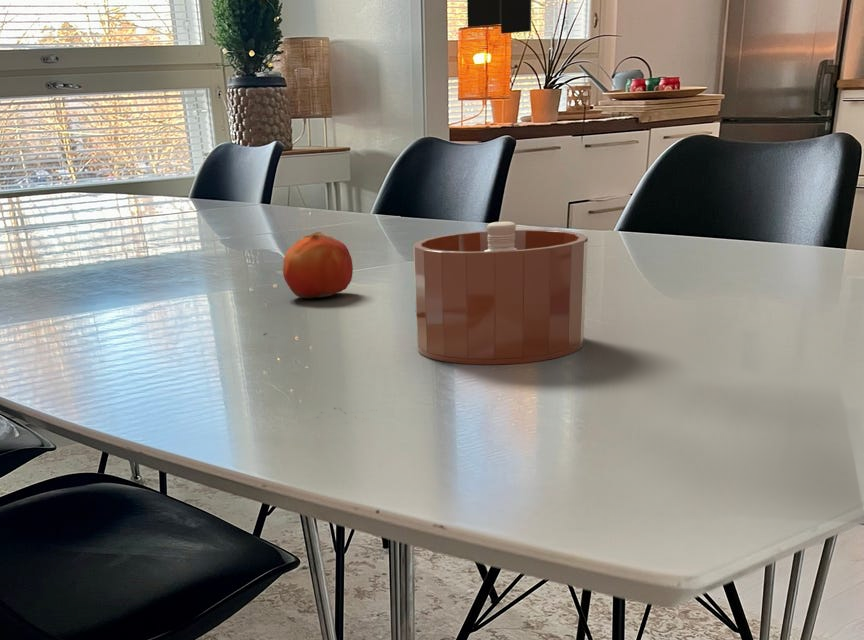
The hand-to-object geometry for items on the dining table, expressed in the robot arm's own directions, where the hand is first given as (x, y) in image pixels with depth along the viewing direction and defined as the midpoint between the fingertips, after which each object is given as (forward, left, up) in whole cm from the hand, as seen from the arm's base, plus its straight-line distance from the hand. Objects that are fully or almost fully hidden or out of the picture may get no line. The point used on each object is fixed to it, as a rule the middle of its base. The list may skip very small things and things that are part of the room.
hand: (501, 29), depth 90 cm
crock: (0, 0, -28) cm, 28 cm away
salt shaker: (0, -1, -27) cm, 27 cm away
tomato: (+30, -28, -28) cm, 50 cm away
